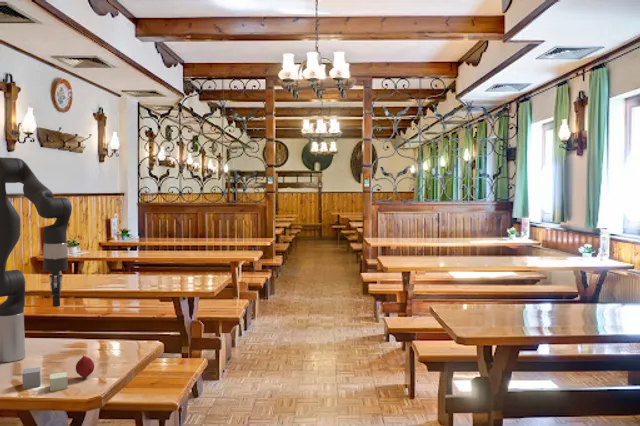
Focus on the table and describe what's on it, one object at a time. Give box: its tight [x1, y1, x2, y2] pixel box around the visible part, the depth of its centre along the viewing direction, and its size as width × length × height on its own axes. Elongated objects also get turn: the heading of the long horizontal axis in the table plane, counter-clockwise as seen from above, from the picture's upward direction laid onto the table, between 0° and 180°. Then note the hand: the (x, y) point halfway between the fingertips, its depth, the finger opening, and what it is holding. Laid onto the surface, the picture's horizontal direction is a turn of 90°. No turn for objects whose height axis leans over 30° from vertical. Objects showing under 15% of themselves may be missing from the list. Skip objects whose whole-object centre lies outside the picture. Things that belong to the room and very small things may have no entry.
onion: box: [75, 354, 95, 379], centre depth 189 cm, size 6×6×8 cm
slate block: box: [21, 366, 42, 390], centre depth 183 cm, size 5×5×5 cm
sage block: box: [49, 371, 68, 392], centre depth 181 cm, size 5×5×4 cm
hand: (56, 306), depth 192 cm, fingers closed
